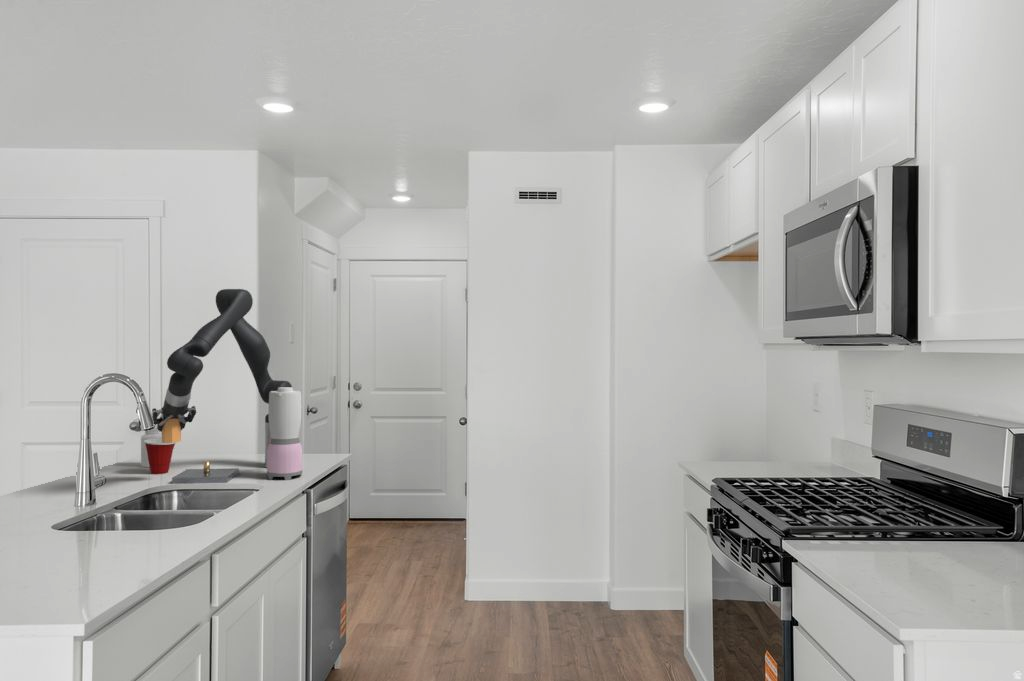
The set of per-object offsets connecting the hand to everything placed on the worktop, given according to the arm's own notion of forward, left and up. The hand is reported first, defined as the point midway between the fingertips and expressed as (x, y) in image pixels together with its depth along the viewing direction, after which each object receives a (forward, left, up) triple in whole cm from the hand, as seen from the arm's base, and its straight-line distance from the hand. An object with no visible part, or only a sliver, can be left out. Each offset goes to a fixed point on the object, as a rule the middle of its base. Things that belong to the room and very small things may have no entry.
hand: (170, 428), depth 250 cm
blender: (-3, +39, -18) cm, 43 cm away
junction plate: (-1, +12, -18) cm, 21 cm away
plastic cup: (-14, -8, -18) cm, 24 cm away
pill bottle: (-29, -16, -18) cm, 37 cm away
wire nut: (+1, +1, -4) cm, 5 cm away
